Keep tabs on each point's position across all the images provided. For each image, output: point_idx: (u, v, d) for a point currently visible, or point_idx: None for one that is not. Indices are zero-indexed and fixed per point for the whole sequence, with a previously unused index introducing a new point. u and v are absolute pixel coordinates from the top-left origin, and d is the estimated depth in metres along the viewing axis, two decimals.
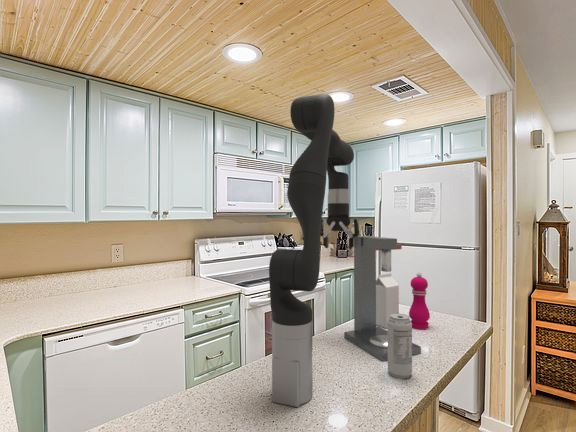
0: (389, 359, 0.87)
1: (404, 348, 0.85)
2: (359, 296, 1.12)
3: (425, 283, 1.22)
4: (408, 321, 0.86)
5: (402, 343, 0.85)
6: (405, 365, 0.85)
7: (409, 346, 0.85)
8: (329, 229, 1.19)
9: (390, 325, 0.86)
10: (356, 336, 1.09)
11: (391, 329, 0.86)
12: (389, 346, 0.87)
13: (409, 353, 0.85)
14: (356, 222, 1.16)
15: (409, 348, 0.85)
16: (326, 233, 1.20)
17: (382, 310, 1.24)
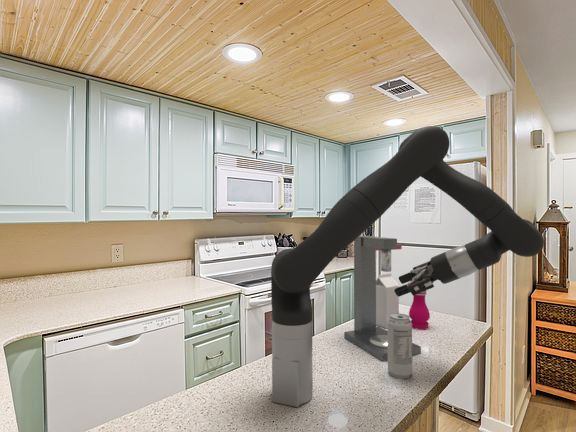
0: (389, 359, 0.87)
1: (404, 348, 0.85)
2: (359, 296, 1.12)
3: None
4: (408, 321, 0.86)
5: (402, 343, 0.85)
6: (405, 365, 0.85)
7: (409, 346, 0.85)
8: (417, 268, 0.95)
9: (390, 325, 0.86)
10: (356, 336, 1.09)
11: (391, 329, 0.86)
12: (389, 346, 0.87)
13: (409, 353, 0.85)
14: (424, 280, 0.86)
15: (409, 348, 0.85)
16: (414, 270, 0.97)
17: (381, 310, 1.24)
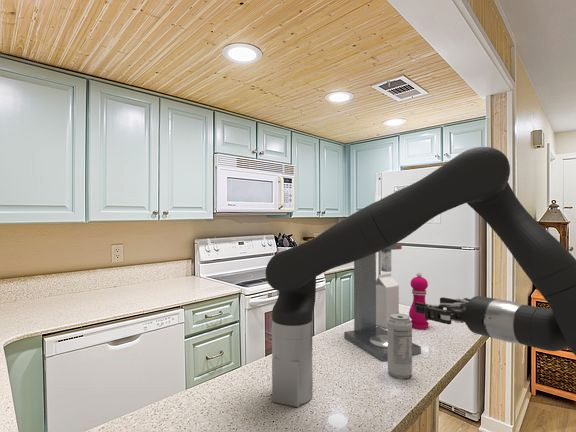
0: (389, 359, 0.87)
1: (404, 348, 0.85)
2: (359, 296, 1.12)
3: (425, 283, 1.22)
4: (408, 321, 0.86)
5: (402, 343, 0.85)
6: (405, 365, 0.85)
7: (409, 346, 0.85)
8: (462, 300, 0.75)
9: (390, 325, 0.87)
10: (356, 336, 1.09)
11: (391, 329, 0.86)
12: (389, 346, 0.87)
13: (409, 353, 0.85)
14: (444, 311, 0.68)
15: (409, 348, 0.85)
16: None
17: (381, 310, 1.24)
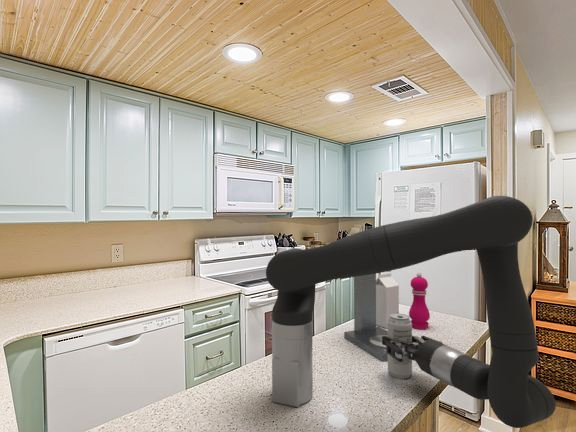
0: (389, 358, 0.87)
1: (404, 348, 0.85)
2: (359, 296, 1.12)
3: (425, 283, 1.22)
4: (408, 321, 0.86)
5: None
6: (405, 365, 0.85)
7: None
8: (419, 339, 0.84)
9: (389, 324, 0.87)
10: (356, 336, 1.09)
11: (391, 329, 0.86)
12: None
13: None
14: (397, 349, 0.79)
15: None
16: (416, 338, 0.86)
17: (381, 310, 1.24)
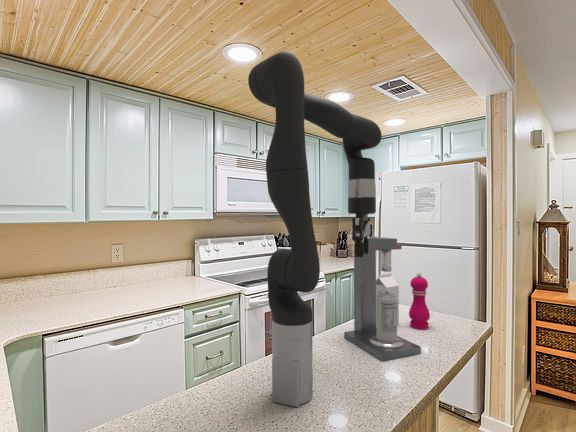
0: (377, 328, 1.03)
1: (390, 318, 1.01)
2: (359, 296, 1.12)
3: (425, 283, 1.22)
4: (393, 296, 1.02)
5: (388, 314, 1.01)
6: (391, 332, 1.01)
7: (394, 316, 1.02)
8: None
9: (378, 299, 1.03)
10: (356, 336, 1.09)
11: (379, 302, 1.03)
12: (377, 317, 1.03)
13: (394, 322, 1.02)
14: None
15: (394, 318, 1.02)
16: None
17: None
